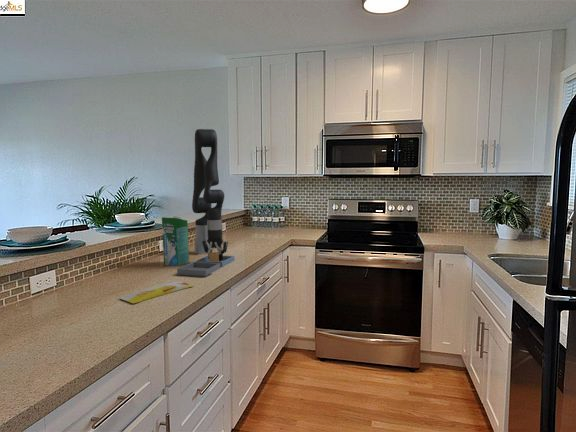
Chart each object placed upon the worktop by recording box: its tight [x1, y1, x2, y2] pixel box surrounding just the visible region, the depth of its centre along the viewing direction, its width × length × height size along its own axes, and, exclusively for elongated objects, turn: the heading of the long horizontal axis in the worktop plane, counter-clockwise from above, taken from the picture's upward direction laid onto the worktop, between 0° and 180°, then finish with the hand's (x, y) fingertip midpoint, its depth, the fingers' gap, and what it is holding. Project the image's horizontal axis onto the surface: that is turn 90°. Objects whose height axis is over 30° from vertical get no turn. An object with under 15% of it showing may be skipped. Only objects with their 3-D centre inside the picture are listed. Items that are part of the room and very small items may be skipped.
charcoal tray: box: [176, 261, 221, 278], centre depth 176 cm, size 15×15×3 cm
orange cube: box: [209, 250, 222, 262], centre depth 193 cm, size 5×5×5 cm
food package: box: [119, 281, 195, 304], centre depth 146 cm, size 27×2×10 cm
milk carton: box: [161, 216, 190, 267], centre depth 192 cm, size 9×9×25 cm
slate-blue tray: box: [195, 255, 235, 268], centre depth 193 cm, size 15×15×3 cm
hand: (215, 260), depth 193 cm, fingers closed on orange cube, 5 cm apart
